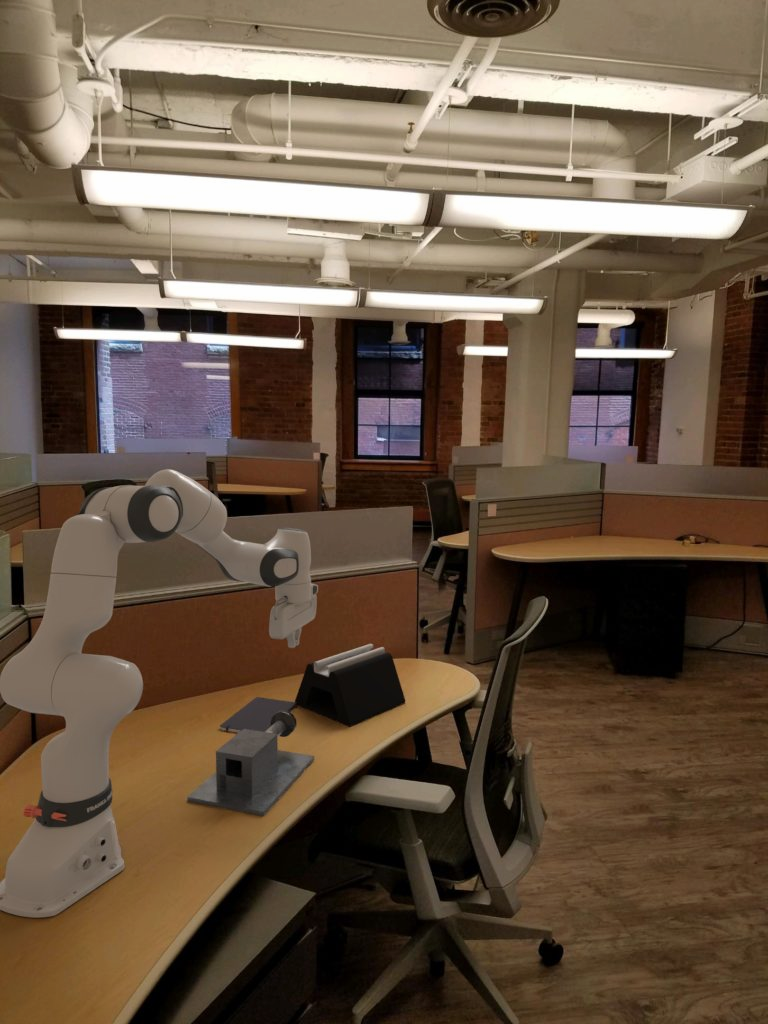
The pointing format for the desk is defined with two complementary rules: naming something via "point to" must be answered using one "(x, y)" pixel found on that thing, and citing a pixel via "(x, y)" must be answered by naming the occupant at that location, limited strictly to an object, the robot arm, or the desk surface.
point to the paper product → (256, 715)
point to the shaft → (282, 724)
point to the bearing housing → (250, 774)
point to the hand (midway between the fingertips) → (293, 646)
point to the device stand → (351, 685)
